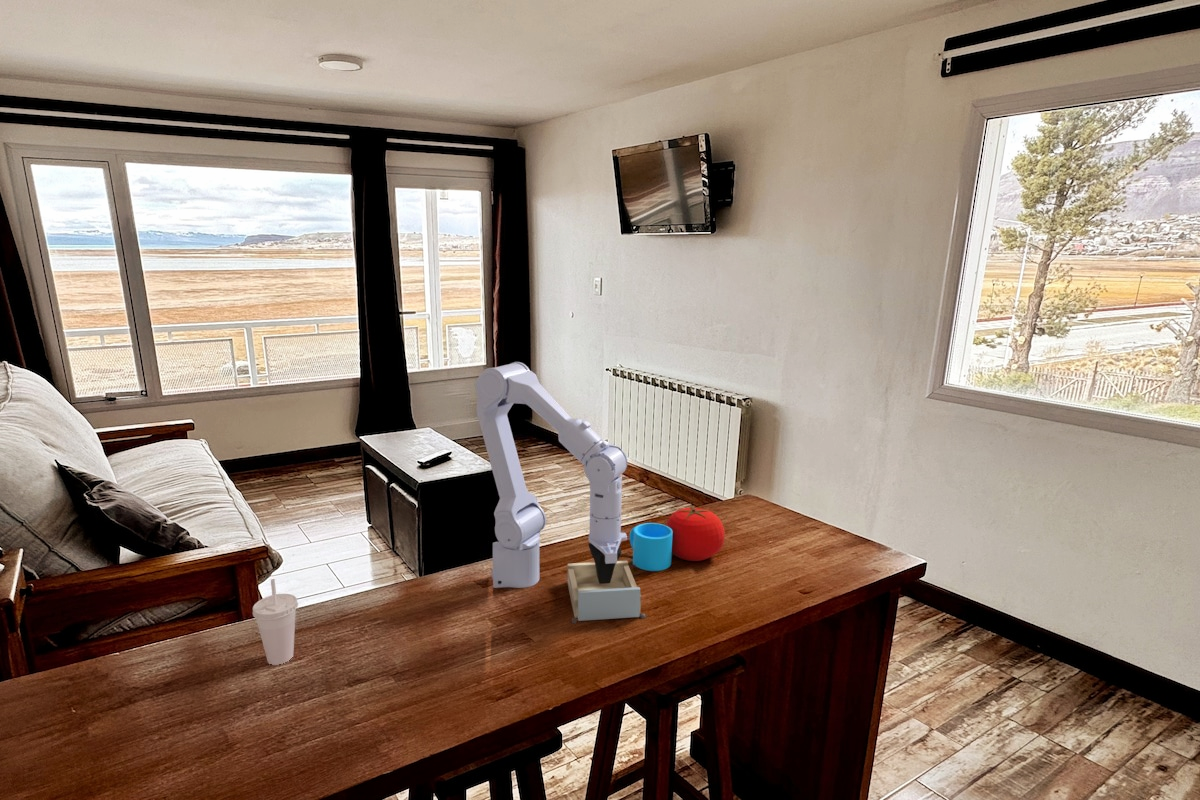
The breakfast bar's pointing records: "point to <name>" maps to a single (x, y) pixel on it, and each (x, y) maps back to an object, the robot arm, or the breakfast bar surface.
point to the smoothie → (277, 625)
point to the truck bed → (596, 581)
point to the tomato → (695, 533)
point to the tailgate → (608, 603)
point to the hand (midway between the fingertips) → (604, 581)
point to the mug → (651, 546)
